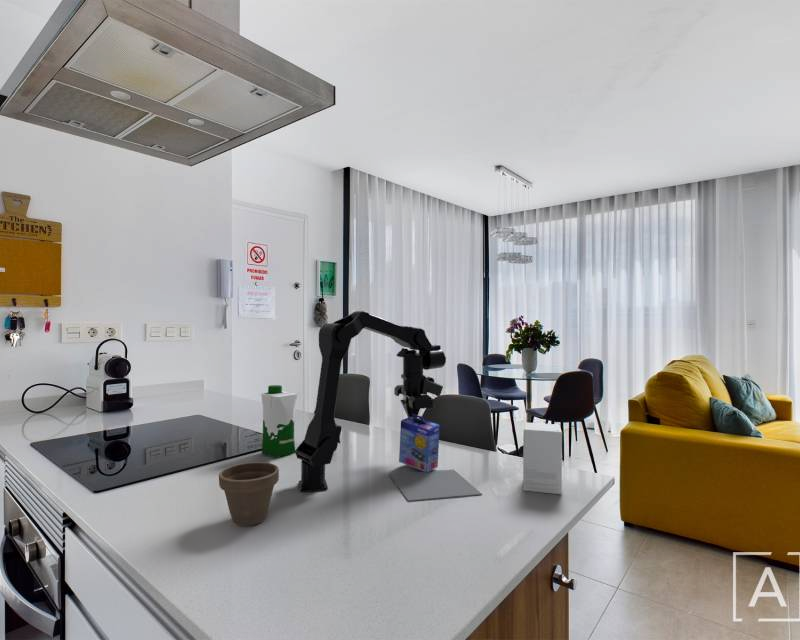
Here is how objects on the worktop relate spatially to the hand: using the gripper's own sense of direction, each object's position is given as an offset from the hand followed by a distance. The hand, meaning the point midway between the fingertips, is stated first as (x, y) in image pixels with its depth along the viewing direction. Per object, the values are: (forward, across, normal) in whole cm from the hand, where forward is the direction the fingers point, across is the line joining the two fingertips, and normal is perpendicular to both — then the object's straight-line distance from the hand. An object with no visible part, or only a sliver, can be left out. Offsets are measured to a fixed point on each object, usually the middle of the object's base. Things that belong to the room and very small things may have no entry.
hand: (413, 425), depth 133 cm
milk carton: (+10, +17, +37) cm, 42 cm away
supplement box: (+10, -27, -25) cm, 38 cm away
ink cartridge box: (+9, -6, +1) cm, 11 cm away
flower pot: (+7, -29, +44) cm, 53 cm away
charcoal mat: (+9, -19, +1) cm, 21 cm away
